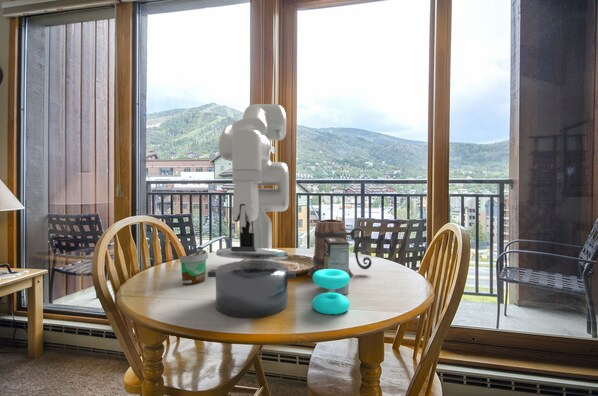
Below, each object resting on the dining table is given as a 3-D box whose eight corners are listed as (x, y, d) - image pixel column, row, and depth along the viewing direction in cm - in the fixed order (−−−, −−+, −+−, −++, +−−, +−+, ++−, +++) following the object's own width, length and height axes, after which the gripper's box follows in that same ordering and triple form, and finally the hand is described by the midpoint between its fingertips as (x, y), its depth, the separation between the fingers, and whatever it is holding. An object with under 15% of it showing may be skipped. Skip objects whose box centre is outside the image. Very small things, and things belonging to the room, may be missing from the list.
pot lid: (227, 259, 103) (228, 250, 104) (291, 260, 102) (291, 251, 103) (203, 250, 82) (204, 239, 83) (283, 252, 81) (283, 240, 81)
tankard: (305, 279, 116) (306, 223, 115) (309, 267, 133) (309, 218, 132) (373, 282, 113) (374, 224, 112) (368, 269, 130) (369, 218, 129)
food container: (197, 287, 107) (197, 257, 106) (180, 286, 108) (179, 256, 108) (214, 277, 119) (214, 249, 119) (198, 276, 120) (198, 249, 120)
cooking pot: (220, 290, 104) (220, 259, 103) (298, 292, 102) (298, 260, 102) (196, 316, 84) (196, 278, 83) (292, 319, 82) (292, 280, 82)
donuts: (310, 268, 94) (345, 267, 94) (310, 302, 94) (345, 301, 95) (315, 278, 84) (353, 277, 84) (314, 316, 84) (353, 315, 85)
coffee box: (323, 285, 110) (323, 237, 109) (342, 285, 110) (343, 237, 109) (328, 294, 100) (328, 242, 100) (349, 294, 101) (349, 242, 100)
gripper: (240, 178, 93) (240, 243, 94) (224, 176, 78) (224, 253, 79) (266, 178, 93) (266, 243, 93) (255, 176, 78) (255, 254, 78)
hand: (247, 247), depth 86 cm, fingers closed
